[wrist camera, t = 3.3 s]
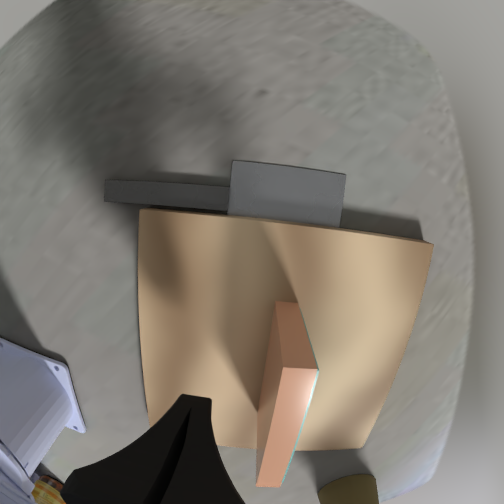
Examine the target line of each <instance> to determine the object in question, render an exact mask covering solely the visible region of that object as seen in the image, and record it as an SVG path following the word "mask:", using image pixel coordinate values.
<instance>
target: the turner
mask: <svg viewBox="0 0 504 504" xmlns="http://www.w3.org/2000/svg"><path fill="white" fill-rule="evenodd" d="M345 181H346V175H342V174H336V173H330V172H324V171H317V170H310V169H303V168H296V167H288V166H280V165H272V164H263V163H253V162H243V161H233V163H232V173H231V182H230V187H223V186H211V185H198V184H184V183H169V182H151V181H128V180H105V196H104V201H106V202H122V203H138V204H152V205H165V206H178V207H190V208H201V209H212V210H222V211H227V210H228V213H227V215H235V216H244V217H253V218H262V219H271V220H280V221H288V222H297V223H305V224H313V225H320V226H328V227H336V228H339V227H340V220H341V213H342V205H343V198H344V189H345Z"/></svg>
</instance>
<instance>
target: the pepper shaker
mask: <svg viewBox="0 0 504 504" xmlns="http://www.w3.org/2000/svg"><path fill="white" fill-rule="evenodd" d="M318 498H319V501H320V504H379V500H378V492H377V485H376V479H375V478H374V476H371V475H368V474H358V475H351V476H347V477H343V478H340V479H337V480H335V481H332V482H331V483H329V484H327V485H325V486H324V487H323V488H322V489H321V490H320V491H319V493H318Z"/></svg>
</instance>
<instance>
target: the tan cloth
mask: <svg viewBox="0 0 504 504" xmlns="http://www.w3.org/2000/svg"><path fill="white" fill-rule="evenodd" d="M433 247H434V244H431V243H429V242H426V241H424V240H418V239H411V238H405V237H399V236H392V235H385V234H379V233H372V232H365V231H358V230H351V229H343V228H336V227H328V226H320V225H313V224H305V223H297V222H288V221H280V220H271V219H262V218H253V217H244V216H235V215H225V214H215V213H205V212H194V211H183V210H172V209H160V208H144V209H140V211H139V235H138V302H139V326H140V342H141V355H142V367H143V377H144V386H145V394H146V402H147V410H148V417H149V423H150V428H151V427H152V426H153V425H154V424H155V423H156V422H157V421H158V420H159V419H160V418H161V417H162V416H163V415H164V414H165V413H166V412H167V411H168V410H169V409H170V407H171V406H172V405H173V404H174V403H175V401H176V400H177V399H178V397H179V396H180V395H181V394H188V395H194V396H200V397H207V398H210V399H211V400H212V415H211V421H212V427H213V432H214V437H215V441H216V445H221V446H229V447H239V448H250V449H257V412H258V406H259V400H260V394H261V388H262V382H263V376H264V370H265V364H266V358H267V351H268V345H269V339H270V332H271V326H272V319H273V312H274V305H275V301H282V302H292V303H298V305H299V308H301V312H302V315H303V318H304V321H305V325H306V328H307V331H308V334H309V338H310V341H311V344H312V348H313V351H314V354H315V358H316V361H317V364H318V368H319V374H318V377H317V381H316V385H315V388H314V392H313V395H312V398H311V402H310V405H309V408H308V412H307V415H306V418H305V421H304V424H303V428H302V431H301V434H300V437H299V440H298V443H297V446H296V448H295V451H316V450H341V449H355V448H362V447H363V445H364V443H365V441H366V439H367V437H368V435H369V433H370V431H371V430H372V428H373V425H374V423H375V421H376V419H377V417H378V415H379V413H380V411H381V409H382V407H383V404H384V402H385V400H386V398H387V395H388V393H389V391H390V388H391V386H392V383H393V381H394V379H395V376H396V374H397V371H398V368H399V366H400V363H401V360H402V358H403V355H404V352H405V349H406V347H407V344H408V341H409V338H410V335H411V332H412V329H413V326H414V322H415V319H416V316H417V312H418V309H419V305H420V302H421V298H422V295H423V291H424V287H425V283H426V279H427V275H428V270H429V266H430V262H431V257H432V252H433Z"/></svg>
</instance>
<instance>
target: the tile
mask: <svg viewBox="0 0 504 504" xmlns="http://www.w3.org/2000/svg"><path fill="white" fill-rule="evenodd" d="M318 374H319V368H318V364H317V361H316V358H315V354H314V351H313V348H312V344H311V341H310V338H309V334H308V331H307V328H306V325H305V321H304V318H303V315H302V312H301V308H299V305H298V303H292V302H282V301H275V305H274V312H273V319H272V326H271V332H270V339H269V345H268V351H267V358H266V364H265V370H264V376H263V382H262V388H261V394H260V400H259V406H258V412H257V456H256V486H258V487H280V485H281V483H283V481H284V479H285V476H286V473H287V471H288V468H289V465H290V463H291V460H292V457H293V454H294V451H295V448H296V446H297V443H298V440H299V437H300V434H301V431H302V428H303V424H304V421H305V418H306V415H307V412H308V408H309V405H310V402H311V398H312V395H313V392H314V388H315V385H316V381H317V377H318Z"/></svg>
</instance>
